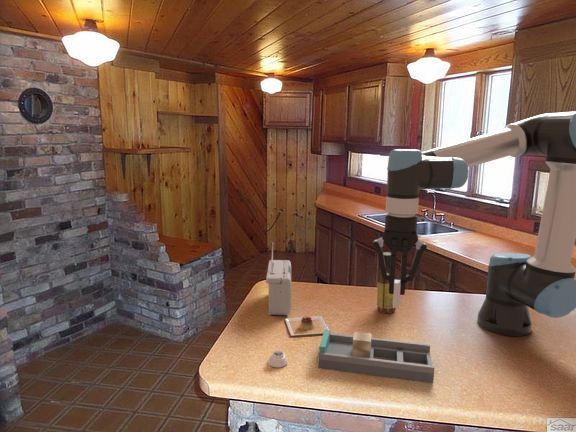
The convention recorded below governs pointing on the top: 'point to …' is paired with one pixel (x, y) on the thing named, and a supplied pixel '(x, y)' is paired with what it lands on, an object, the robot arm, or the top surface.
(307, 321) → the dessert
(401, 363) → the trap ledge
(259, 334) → the top surface
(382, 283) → the sauce bottle
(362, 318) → the top surface
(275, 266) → the stereo radio cassette player
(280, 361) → the white jar
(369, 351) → the maple block
